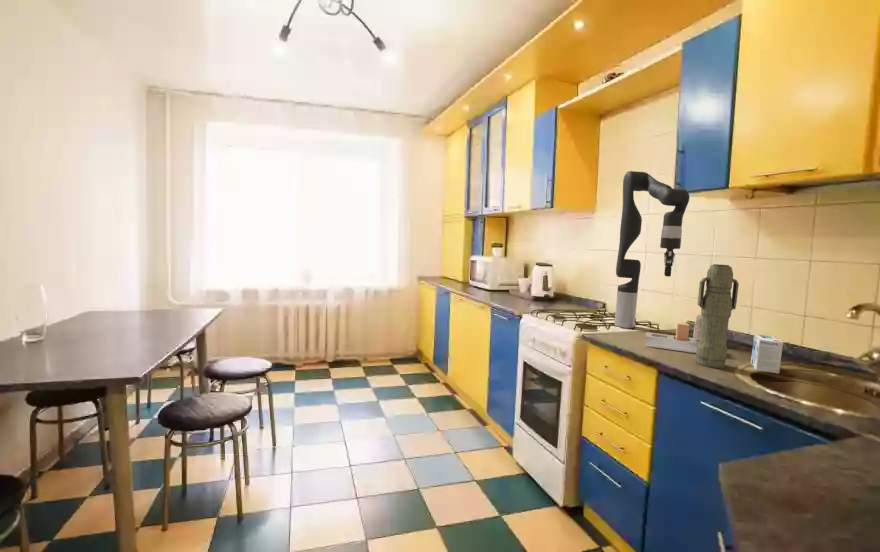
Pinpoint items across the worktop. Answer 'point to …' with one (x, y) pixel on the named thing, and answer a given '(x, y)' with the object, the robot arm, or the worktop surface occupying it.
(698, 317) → the carving
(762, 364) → the light bulb box
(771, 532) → the worktop surface
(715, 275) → the thermos
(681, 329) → the square peg
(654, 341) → the rack rail
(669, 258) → the robot arm
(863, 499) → the worktop surface
